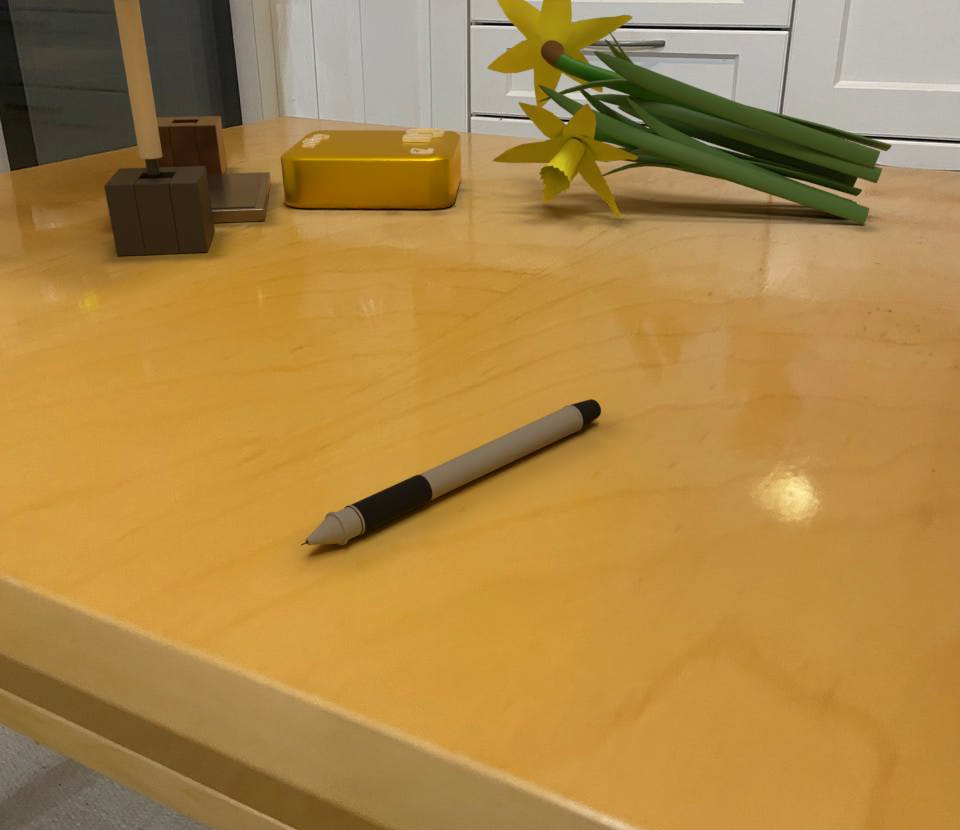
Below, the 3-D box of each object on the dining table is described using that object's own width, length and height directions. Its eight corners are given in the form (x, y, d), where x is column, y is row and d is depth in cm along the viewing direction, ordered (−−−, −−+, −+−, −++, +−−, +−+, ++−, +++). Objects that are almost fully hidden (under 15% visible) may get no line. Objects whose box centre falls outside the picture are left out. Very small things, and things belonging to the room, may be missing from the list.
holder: (117, 256, 68) (103, 185, 66) (131, 234, 74) (119, 168, 71) (207, 252, 69) (197, 182, 67) (214, 231, 75) (205, 165, 72)
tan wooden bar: (140, 176, 68) (104, -46, 61) (144, 172, 70) (108, -46, 63) (163, 176, 68) (129, -46, 62) (166, 172, 70) (133, -45, 63)
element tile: (313, 175, 94) (308, 124, 92) (462, 176, 94) (461, 125, 92) (280, 209, 81) (274, 151, 79) (453, 210, 81) (452, 152, 78)
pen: (604, 425, 43) (606, 399, 43) (313, 568, 33) (310, 536, 32) (581, 417, 44) (583, 391, 43) (291, 553, 34) (287, 522, 33)
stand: (155, 180, 92) (146, 126, 90) (164, 168, 98) (156, 117, 95) (222, 178, 93) (215, 124, 91) (227, 166, 99) (220, 115, 96)
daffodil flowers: (878, 261, 70) (431, 117, 70) (807, 306, 85) (438, 187, 85) (944, 49, 70) (500, -94, 70) (862, 130, 85) (495, 12, 85)
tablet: (113, 227, 76) (111, 213, 75) (143, 186, 90) (141, 175, 89) (264, 221, 78) (263, 207, 77) (270, 182, 91) (269, 171, 91)
